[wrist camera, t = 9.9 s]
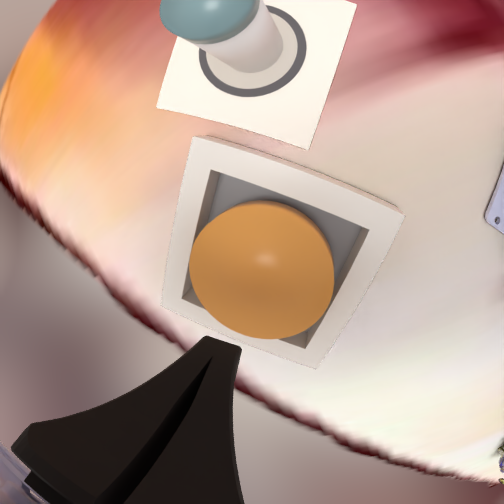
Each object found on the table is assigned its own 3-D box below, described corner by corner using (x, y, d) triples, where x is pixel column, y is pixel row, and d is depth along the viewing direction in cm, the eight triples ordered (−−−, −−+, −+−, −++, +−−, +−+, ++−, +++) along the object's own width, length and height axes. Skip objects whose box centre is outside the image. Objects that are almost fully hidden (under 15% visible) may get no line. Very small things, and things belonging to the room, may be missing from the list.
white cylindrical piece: (291, 27, 12) (266, -33, 6) (271, 80, 14) (233, 43, 7) (232, 16, 12) (179, -36, 6) (214, 66, 14) (147, 34, 8)
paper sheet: (356, 5, 10) (357, 3, 10) (308, 150, 15) (308, 150, 15) (202, -20, 11) (200, -22, 11) (157, 107, 16) (155, 107, 16)
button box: (396, 206, 15) (405, 215, 13) (317, 351, 20) (315, 369, 18) (207, 135, 16) (193, 136, 14) (173, 292, 21) (160, 305, 20)
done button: (357, 233, 14) (360, 244, 13) (301, 339, 18) (298, 356, 16) (217, 180, 15) (206, 185, 14) (190, 294, 19) (179, 307, 17)
